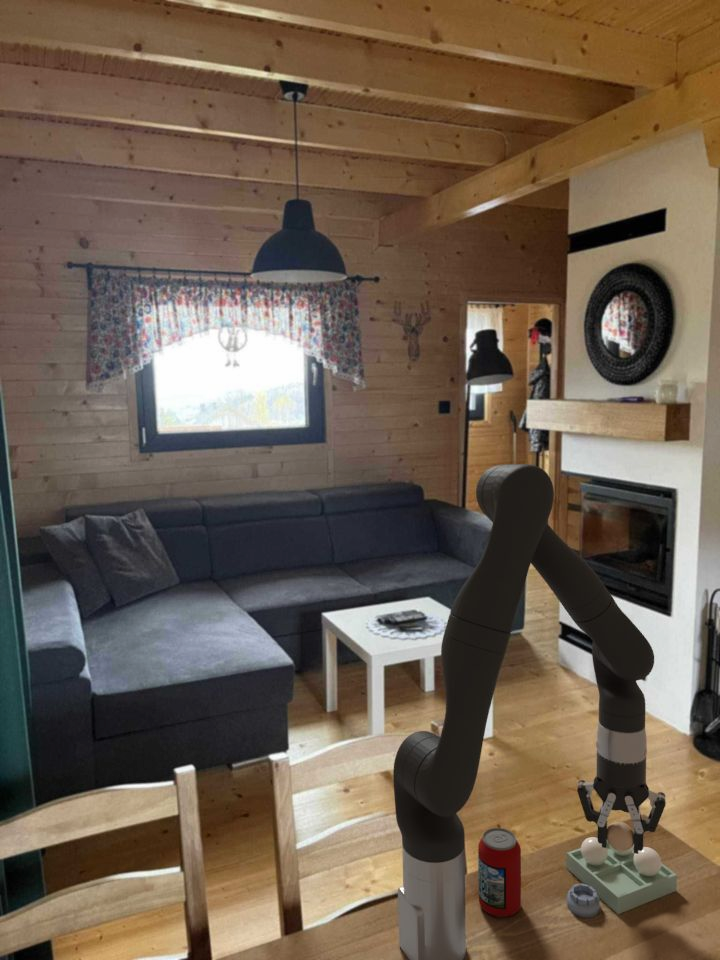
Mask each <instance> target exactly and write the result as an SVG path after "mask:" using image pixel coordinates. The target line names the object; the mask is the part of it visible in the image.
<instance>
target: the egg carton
mask: <svg viewBox="0 0 720 960" xmlns="http://www.w3.org/2000/svg"><path fill="white" fill-rule="evenodd" d="M606 847H607V851H608V856H607V859H606V861H605V862H604V863H603V864H601V865H599V866H594V865H591V864H589V863H587V862H586V861H585V860H584V858H583V856H582V854H581V847H579V848H576V849H574V850H570V851H568V852H566V856H565V857H566V862H565V863H566V865H565V868H566V870H567V871H569V872H570V873H571V874H572V875H573V874H574V875H573V876H574V877H576V878H577V879H578V880H579V881H580V883H582V884H587V885H588V887H589V886H591V887H592V888H594V889H595V890H596V892H597V895H598V896H599V899H600V900H601V901H603V902H604V903H605V905H606V906H608V907H609V908H610V909H611V910H612V911H614V913H616V914H617V915H620V914H622V913H625V912H627V911H630V910H632V909H635V908H637V907H639V906H643V905H645V904H647V903H650V902H651V901H654V900H658V899H659V898H662V897H665V896H667V895H670V894H672V893H674V892H677V888H678V887H677V882H678V875H677V873H675V872H674V871H673V870H671V868H669V867H667V866H666V865H665V864H663V863H662V862H661V864H662V865H661V870H660V871H659V873H658V874H657V875H655V876H651V877H648V876H644V875H642V874H641V873H640V872H639V871H638V870H637V869H636V867H635V865H634V862H633V857H634V854H635V853H634V850H633V851H632V852H631V853H630V854H629V855H626V856H620V855H617V854H616V853H614V852H613V851H612V850H611V848H610V846H609V843H608V841H607V846H606Z"/></svg>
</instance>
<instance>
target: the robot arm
mask: <svg viewBox="0 0 720 960" xmlns="http://www.w3.org/2000/svg"><path fill="white" fill-rule="evenodd" d="M475 490H476V491H475V496H476V498H475V499H476V501H477V504H478V507H479V508H480V511H482V513H483V514H484V515H485V516H486V517H487V519H489V520H490V521H491V523H492V526H491V528H490V533H489V536H488V537H489V538H488V540H487V544H486V548H485V549H484V551H483V554H482V556H481V558H480V560H479V561H478V564H477V565H476V567H475V568H474V570H473V571H472V572H471V573H470V575H469V577H467V578H466V579H467V580H466V581H465V582H464V584H463V585H462V587H461V588H460V589H459V592H458V593H457V596H456V597H455V599H454V601H453V603H452V606H451V607H450V608H451V609H450V611H449V616H448V618H447V622H446V625H445V628H444V629H445V630H444V633H443V636H442V641H441V647H440V649H441V650H440V657H441V659H440V661H441V668H442V671H441V672H442V677H443V684H444V691H445V713H444V722H443V724H442V725H443V726H442V729H441V733H440V735H438V734H436V733H433V732H431V731H428V730H419V731H415V732H413V733H411V734H410V735H408V736H407V737H406V738H405V739H404V740H403V741H402V743H400V746H399V747H398V749H397V751H396V755H395V759H394V763H393V777H392V779H393V781H392V782H393V795H394V807H395V819H396V823H397V827H398V829H399V831H400V834H401V845H402V851H401V852H402V886H400V887H398V889H397V902H398V903H397V906H398V908H397V909H398V910H397V911H398V915H397V916H398V944H399V947H400V949H401V950H402V951H403V953H404V954H405V956H406V958H407V959H408V960H464V958H465V957H466V953H467V948H466V947H467V945H466V943H467V942H466V941H467V940H466V939H467V935H466V928H467V927H466V843H465V841H466V840H465V839H466V837H465V836H466V835H465V827H464V825H463V822H462V820H461V819H460V817H459V815H458V813H459V811H461V810H462V809H463V808H464V806H465V805H466V804H467V802H468V801H469V799H470V796H471V795H472V792H473V790H474V787H475V783H476V780H477V776H478V771H479V767H480V762H481V754H482V751H483V749H482V748H483V744H484V739H485V738H484V737H485V732H486V728H487V723H488V717H489V713H490V708H491V705H492V702H493V697H494V694H495V689H496V685H497V682H498V677H499V675H500V672H501V668H502V664H503V661H504V658H505V656H506V652H507V649H508V646H509V645H508V644H509V642H510V638H511V633H512V631H513V627H514V622H515V617H516V614H517V610H518V608H519V604H520V601H521V597H522V594H523V592H524V588H525V584H526V580H527V577H528V572H529V570H530V567H531V565H532V566H533V568H534V569H535V571H537V573H538V574H539V575H540V577H542V579H543V580H544V582H546V584H547V586H548V588H550V590H551V591H552V592H553V594H554V595H555V597H556V598H557V600H558V601H559V602H560V604H561V605H562V607H563V608H564V610H565V611H566V613H567V614H568V615H569V616H570V618H571V620H572V621H573V622H574V623H575V624H576V626H577V627H578V628H579V629H580V630H581V631H583V633H585V634H586V635H587V637H589V638H590V640H591V641H592V647H591V648H592V649H591V657H592V664H593V669H594V677H595V682H596V687H597V689H598V690H597V691H598V696H599V697H598V725H597V730H596V743H595V745H596V746H595V747H596V776H595V777H594V779H593V781H585V780H584V779H580V780H579V781H578V782H577V788H576V789H577V790H576V791H577V794H578V798H579V801H580V805H581V808H582V810H583V813H584V814H583V815H584V817H585V819H586V821H587V822H590V823H591V822H592V823H595V824H596V826H597V838H598V842H599V843H600V844H602V847H603V848H606V846H607V838H606V836H607V828H608V818H609V817H610V814H611V812H612V811H621V812H624V813H628V814H629V817H630V819H631V822H632V824H633V827H634V828H633V833H634V853H636V854H638V850H639V851H642V850H643V847H644V834H645V833H646V832H649V833H655V832H656V830H657V827H658V825H659V822H660V819H661V817H662V814H664V810H665V808H666V805H667V804H666V803H667V802H666V794H665V793H664V792H662V791H659V792H654V791H652V790H650V788H649V786H648V784H647V754H648V748H647V744H648V743H647V740H648V739H647V731H646V699H645V698H646V697H645V694H644V692H643V691H642V690H641V688H640V686H639V684H638V683H637V681H641V680H643V679H645V678H646V677H648V676H649V675H650V674H651V672H652V671H653V668H654V665H655V654H654V650H653V647H652V646H651V644H650V642H649V640H648V639H647V638H646V637H645V635H644V634H643V633H642V631H640V629H639V628H638V626H636V624H634V623H633V621H632V620H631V619H630V618H629V617H628V616H627V615H626V613H624V611H623V610H622V609H621V607H620V606H618V604H617V602H616V600H615V598H614V597H613V596H612V594H611V593H610V591H609V589H607V587H606V586H605V584H604V583H603V581H602V580H601V578H600V577H599V575H598V574H597V573H596V572H595V570H594V569H593V568H592V567H591V565H589V564H588V563H587V561H585V560H584V559H583V557H581V556H580V555H579V554H578V553H577V552H576V551H575V550H574V549H573V548H571V547H570V546H569V545H568V544H567V543H566V542H565V541H564V540H563V539H562V538H561V537H560V536H559V535H558V534H557V532H555V531H554V530H553V528H552V526H550V524H549V523H548V521H549V518H550V515H551V512H552V509H553V506H554V505H553V504H554V499H555V498H554V497H555V490H554V484H553V482H552V479H551V477H550V475H548V473H547V472H546V470H544V469H543V468H541V467H539V466H538V465H537V466H536V465H535V464H523V463H520V464H519V463H517V464H515V463H513V464H509V463H508V464H507V463H506V464H500V465H494V466H492V467H490V468H488V469H487V470H485V471H484V472H483V473H482V474H481V476H480V477H479V479H478V482H477V484H476V488H475ZM593 791H595V793H596V794H597V795H598V797H599V798H600V799H601V805H600V808H599V811H598V810H596V809H595V807H594V805H593V801H592V798H591V797H592V795H593ZM648 799H649V805H650V807H651V809H650V812H649V815H648V817H647V818H644V819H643V817H642V814H641V808H640V806H641V805H642V804H643V803H644V802H645V801H646V800H648Z"/></svg>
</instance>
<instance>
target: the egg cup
mask: <svg viewBox="0 0 720 960" xmlns="http://www.w3.org/2000/svg"><path fill="white" fill-rule="evenodd" d="M566 897H567V900H566V902H567V903H566V905H567V908H568V910H569V911H570V912H571V913H572V914H573V915H575V916H576V917H580V918H587V919H589V918H593V917H596V916H598V914H599V913H600V904H601V902H600V900H601V899H600V898H599V896H598V895H597V892H596V890H595V889H594V888H592V887H591V886H589V887H588V885H587V884H584V883H582V882H580V883H575V884H572V885H571V886H570V889H569V890H568V892H567V894H566Z"/></svg>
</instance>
